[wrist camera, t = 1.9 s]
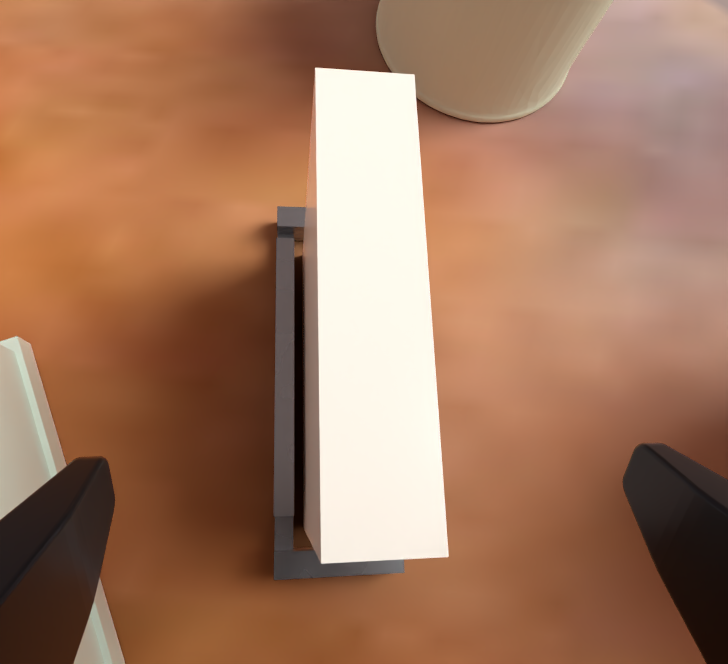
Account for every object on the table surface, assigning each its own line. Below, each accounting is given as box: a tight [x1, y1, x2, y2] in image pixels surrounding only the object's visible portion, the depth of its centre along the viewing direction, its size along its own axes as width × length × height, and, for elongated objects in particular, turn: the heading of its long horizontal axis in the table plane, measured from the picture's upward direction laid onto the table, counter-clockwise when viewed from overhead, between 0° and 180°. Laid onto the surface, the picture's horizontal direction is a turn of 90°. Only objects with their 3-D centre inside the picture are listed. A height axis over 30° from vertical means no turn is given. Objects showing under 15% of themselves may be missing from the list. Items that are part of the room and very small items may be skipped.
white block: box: [302, 68, 449, 564], centre depth 16 cm, size 10×2×10 cm, turn 2°
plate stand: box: [274, 206, 404, 580], centre depth 19 cm, size 13×4×2 cm, turn 2°
